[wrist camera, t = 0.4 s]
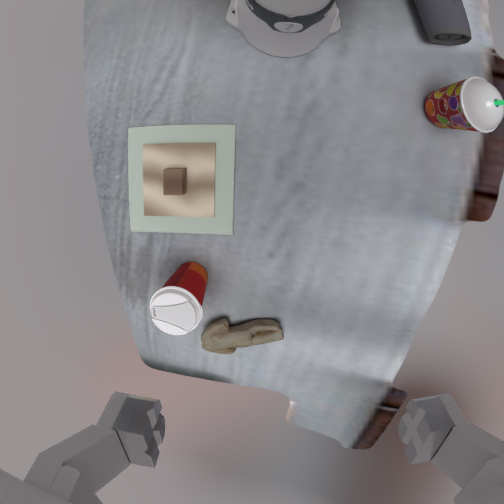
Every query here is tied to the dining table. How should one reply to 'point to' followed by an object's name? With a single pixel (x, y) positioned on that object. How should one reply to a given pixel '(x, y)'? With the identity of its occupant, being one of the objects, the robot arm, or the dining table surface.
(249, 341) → the sculpture
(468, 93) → the smoothie
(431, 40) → the bluetooth speaker
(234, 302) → the dining table surface
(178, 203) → the lid
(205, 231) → the mat
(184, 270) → the paper cup
